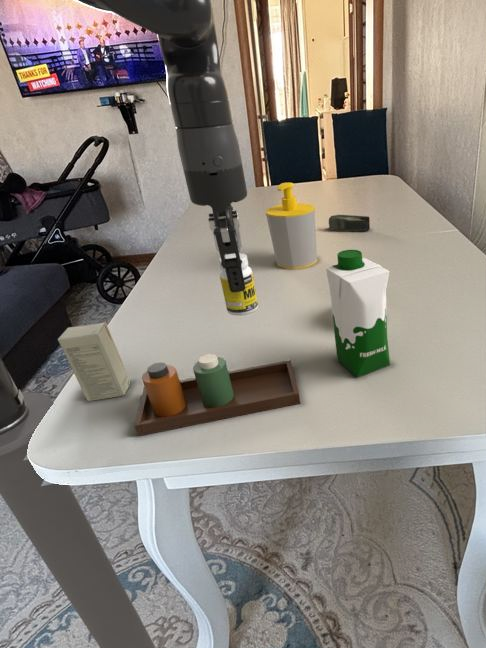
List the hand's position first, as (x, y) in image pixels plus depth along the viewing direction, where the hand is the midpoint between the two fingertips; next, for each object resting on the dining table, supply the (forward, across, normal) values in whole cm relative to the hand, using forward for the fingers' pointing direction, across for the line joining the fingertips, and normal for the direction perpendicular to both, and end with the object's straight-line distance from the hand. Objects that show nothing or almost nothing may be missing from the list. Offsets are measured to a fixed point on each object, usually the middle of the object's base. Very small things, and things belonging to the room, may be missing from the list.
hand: (237, 283), depth 70 cm
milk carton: (+19, -1, +19) cm, 27 cm away
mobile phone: (+19, -82, +35) cm, 92 cm away
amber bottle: (+19, +2, -14) cm, 23 cm away
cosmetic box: (+19, -8, -25) cm, 33 cm away
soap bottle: (+19, -59, +15) cm, 64 cm away
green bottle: (+19, +2, -7) cm, 20 cm away
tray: (+19, +2, -6) cm, 20 cm away
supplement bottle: (+5, 0, 0) cm, 5 cm away
